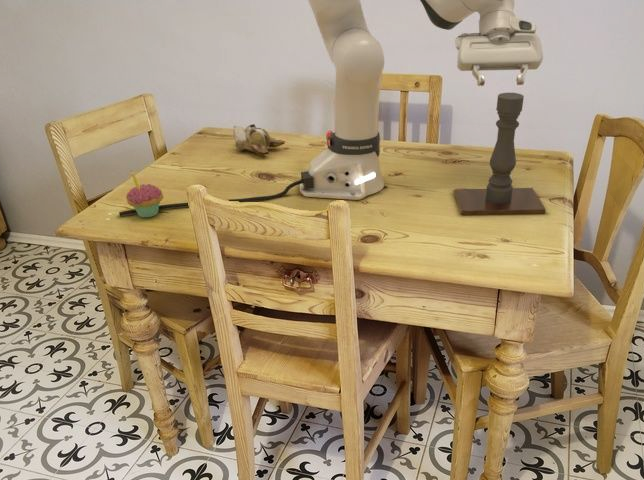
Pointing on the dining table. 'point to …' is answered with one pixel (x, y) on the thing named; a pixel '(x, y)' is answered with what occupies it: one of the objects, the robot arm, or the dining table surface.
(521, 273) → the dining table surface
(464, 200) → the board
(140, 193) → the cupcake
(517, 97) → the candle holder
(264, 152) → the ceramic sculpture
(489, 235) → the dining table surface
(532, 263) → the dining table surface
